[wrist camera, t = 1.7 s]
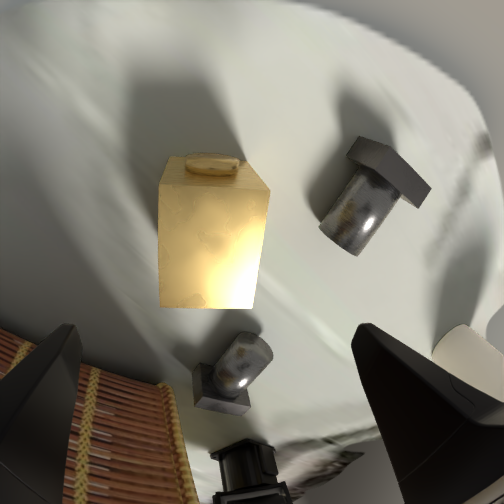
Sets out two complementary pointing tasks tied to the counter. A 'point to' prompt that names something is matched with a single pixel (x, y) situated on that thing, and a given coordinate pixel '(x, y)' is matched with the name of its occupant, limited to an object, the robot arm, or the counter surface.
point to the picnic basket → (118, 438)
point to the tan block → (210, 231)
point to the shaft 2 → (371, 194)
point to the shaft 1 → (231, 375)
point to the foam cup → (471, 360)
